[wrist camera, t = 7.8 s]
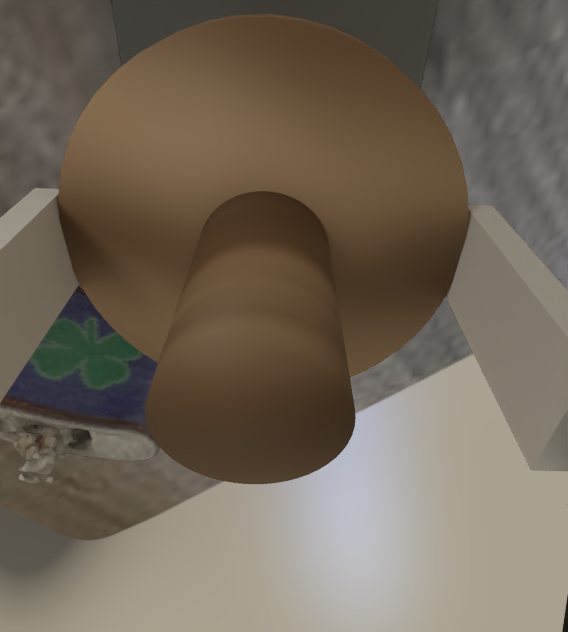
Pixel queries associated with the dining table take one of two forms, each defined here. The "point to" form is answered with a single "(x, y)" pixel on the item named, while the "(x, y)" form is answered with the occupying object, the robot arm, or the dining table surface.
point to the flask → (79, 395)
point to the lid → (261, 232)
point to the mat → (309, 3)
